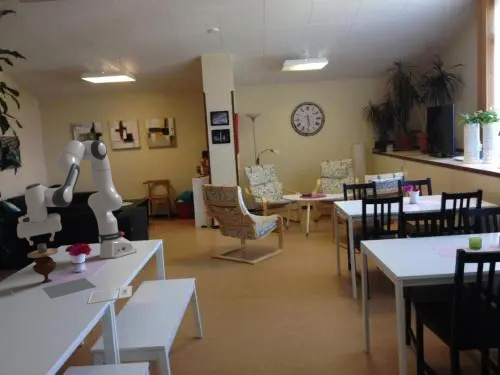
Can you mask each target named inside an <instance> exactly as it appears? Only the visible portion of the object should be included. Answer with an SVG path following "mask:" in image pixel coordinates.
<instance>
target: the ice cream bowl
mask: <svg viewBox="0 0 500 375" xmlns="http://www.w3.org/2000/svg"><path fill="white" fill-rule="evenodd" d="M34 263H35V264H34V265H33V266H32V270H33V271H34V272H35V273H37V274H38V275H41V276H43V277H44V280H42V281H41V284H47V283H48V284H49V283H51V282H53V279H50V278H49V275H50V274H51V273H53V271H54V270H55V269H56V267H57V262H56V261H55V260H54V259H53V258H52V257H51V256H45V257H39V258H34Z"/></svg>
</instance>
